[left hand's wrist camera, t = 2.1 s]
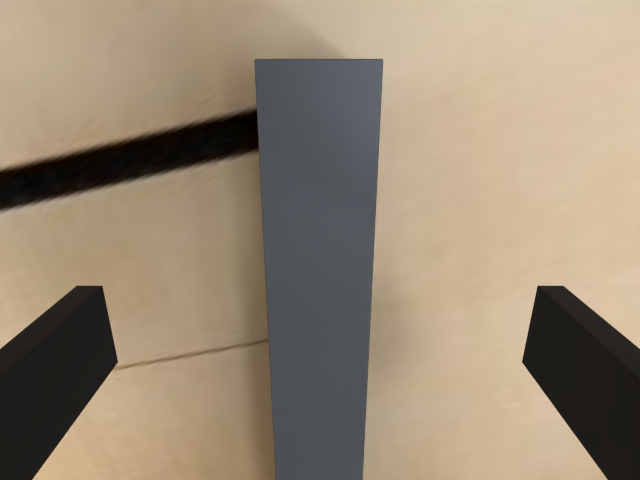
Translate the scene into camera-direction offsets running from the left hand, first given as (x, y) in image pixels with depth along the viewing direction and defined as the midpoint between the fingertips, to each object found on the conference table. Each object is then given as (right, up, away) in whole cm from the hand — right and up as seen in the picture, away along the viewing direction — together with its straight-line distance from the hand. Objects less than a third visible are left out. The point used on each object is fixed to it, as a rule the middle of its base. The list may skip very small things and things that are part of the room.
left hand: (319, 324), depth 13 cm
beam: (0, -16, +22) cm, 27 cm away
